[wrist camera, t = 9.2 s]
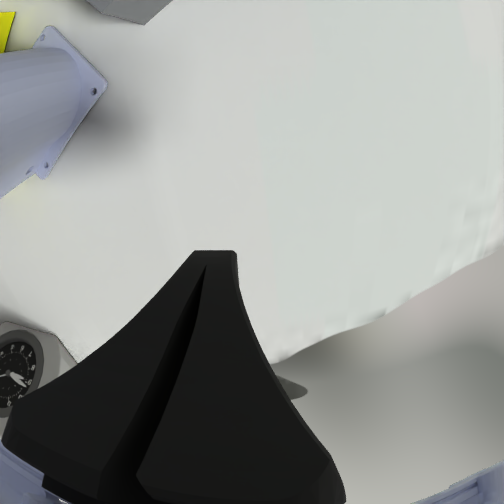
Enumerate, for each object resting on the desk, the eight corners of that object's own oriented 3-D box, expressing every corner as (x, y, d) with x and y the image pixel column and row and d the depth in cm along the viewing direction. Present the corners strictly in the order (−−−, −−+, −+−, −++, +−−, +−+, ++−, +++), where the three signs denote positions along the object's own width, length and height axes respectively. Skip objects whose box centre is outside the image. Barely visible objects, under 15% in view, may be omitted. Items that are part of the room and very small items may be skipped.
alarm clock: (76, 340, 30) (28, 471, 14) (98, 370, 34) (63, 485, 18) (-6, 317, 30) (-50, 405, 14) (15, 344, 35) (-22, 427, 19)
